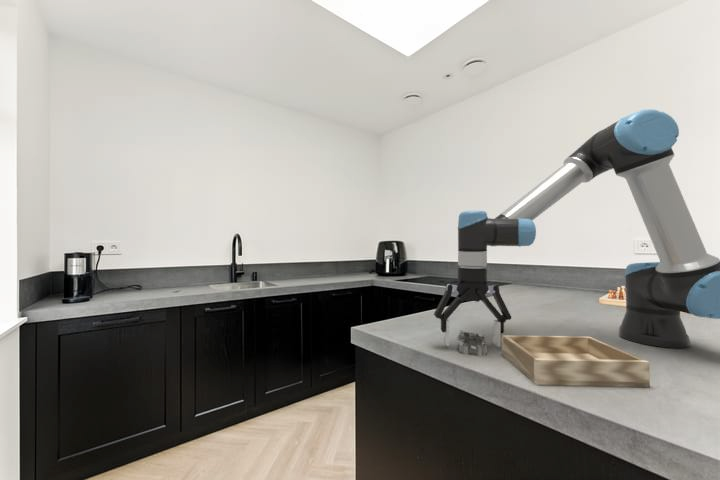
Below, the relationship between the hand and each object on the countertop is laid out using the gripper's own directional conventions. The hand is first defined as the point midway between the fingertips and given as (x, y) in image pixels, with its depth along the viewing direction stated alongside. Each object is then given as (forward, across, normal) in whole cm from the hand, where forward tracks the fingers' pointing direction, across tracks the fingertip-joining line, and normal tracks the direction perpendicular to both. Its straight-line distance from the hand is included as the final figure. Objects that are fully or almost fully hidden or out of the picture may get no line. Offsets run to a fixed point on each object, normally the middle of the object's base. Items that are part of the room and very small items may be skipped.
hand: (471, 344), depth 83 cm
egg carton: (+2, 0, 0) cm, 2 cm away
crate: (+1, -17, +13) cm, 22 cm away
